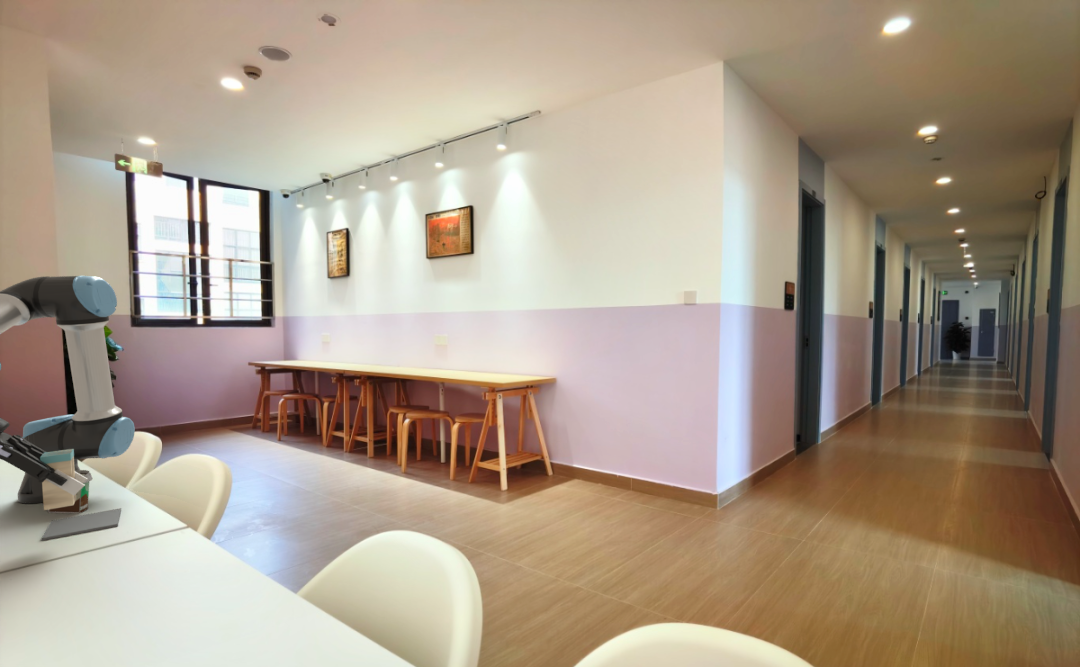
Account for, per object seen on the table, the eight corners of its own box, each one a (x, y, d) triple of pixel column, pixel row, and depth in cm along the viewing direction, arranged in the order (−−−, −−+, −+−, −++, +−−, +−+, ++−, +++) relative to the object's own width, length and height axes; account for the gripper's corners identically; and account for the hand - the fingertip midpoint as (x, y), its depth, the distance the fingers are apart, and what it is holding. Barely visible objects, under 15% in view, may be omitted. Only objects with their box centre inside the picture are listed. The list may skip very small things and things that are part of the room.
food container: (105, 505, 149) (104, 469, 149) (85, 513, 143) (83, 476, 142) (65, 504, 150) (64, 469, 150) (43, 512, 144) (41, 475, 144)
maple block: (47, 503, 123) (44, 452, 123) (76, 498, 126) (73, 448, 126) (43, 510, 119) (40, 457, 119) (73, 505, 122) (70, 453, 121)
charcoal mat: (51, 522, 136) (51, 520, 136) (121, 510, 144) (121, 508, 144) (41, 540, 125) (41, 538, 125) (117, 526, 133) (117, 523, 133)
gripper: (-29, 433, 120) (72, 490, 131) (-56, 450, 106) (60, 512, 116) (2, 407, 123) (98, 464, 133) (-20, 420, 108) (90, 483, 119)
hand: (80, 486), depth 125 cm, fingers closed on maple block, 5 cm apart
